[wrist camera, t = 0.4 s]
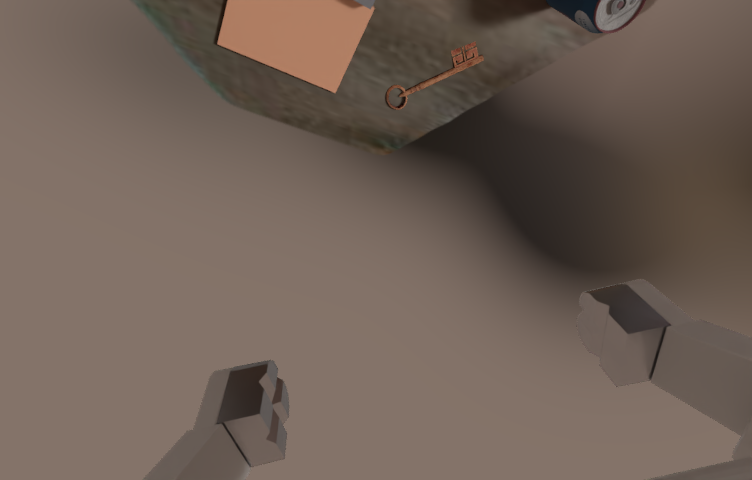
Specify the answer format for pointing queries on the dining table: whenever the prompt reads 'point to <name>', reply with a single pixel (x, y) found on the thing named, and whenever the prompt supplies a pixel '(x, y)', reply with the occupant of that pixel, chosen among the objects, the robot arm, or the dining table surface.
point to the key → (441, 76)
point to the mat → (297, 35)
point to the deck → (366, 3)
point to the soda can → (599, 13)
